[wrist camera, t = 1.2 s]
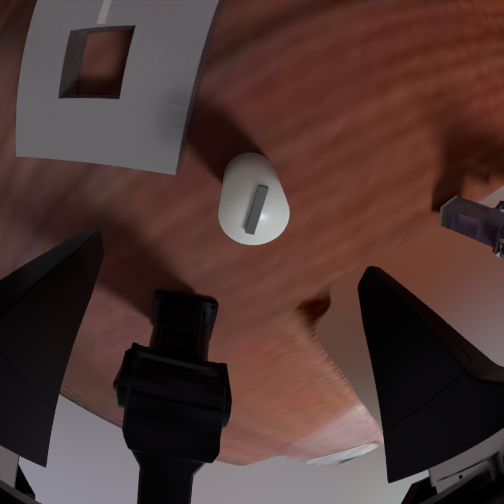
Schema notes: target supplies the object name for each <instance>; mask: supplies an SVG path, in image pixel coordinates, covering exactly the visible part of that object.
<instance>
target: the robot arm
mask: <svg viewBox="0 0 504 504" xmlns="http://www.w3.org/2000/svg"><path fill="white" fill-rule="evenodd" d="M103 256H104V250H103V243H102V236H101V233H100V231H99V230H92V229H88V230H86V231H84V232H82V233H80V234H78V235H76V236H75V237H73V238H71V239H69V240H67V241H65V242H63V243H61V244H60V245H58V246H56V247H54V248H52V249H51V250H49V251H47V252H45V253H44V254H42V255H40V256H38V257H37V258H35V259H33V260H32V261H30V262H28V263H27V264H25V265H23V266H22V267H20V268H19V269H17V270H15V271H14V272H12V273H11V274H9V276H6V277H4V278H3V279H1V280H0V504H41V503H39V502H37V501H35V494H34V492H33V490H32V489H31V487H30V485H29V483H28V481H27V480H26V478H25V476H24V474H23V472H22V470H21V468H20V466H19V464H18V462H19V457H20V456H21V457H23V458H25V459H27V460H30V461H32V462H34V463H36V464H38V465H41V466H43V467H46V464H47V457H48V449H49V443H50V436H51V431H52V425H53V420H54V415H55V409H56V405H57V401H58V396H59V392H60V388H61V385H62V381H63V377H64V374H65V370H66V367H67V363H68V360H69V357H70V354H71V350H72V347H73V344H74V341H75V338H76V336H77V333H78V330H79V327H80V324H81V322H82V319H83V316H84V314H85V311H86V308H87V306H88V303H89V301H90V298H91V295H92V292H93V289H94V285H95V282H96V279H97V276H98V273H99V269H100V266H101V263H102V260H103ZM158 295H159V296H158ZM358 295H359V301H360V307H361V314H362V321H363V327H364V332H365V336H366V340H367V345H368V349H369V354H370V359H371V363H372V368H373V373H374V379H375V384H376V390H377V395H378V401H379V408H380V414H381V421H382V428H383V431H384V432H383V437H384V445H385V455H386V467H387V479H388V483H392V482H395V481H398V480H401V479H404V478H406V477H409V476H412V475H414V474H417V473H420V472H422V471H425V470H427V469H428V473H429V476H428V477H426V478H424V479H422V480H420V481H417V482H415V483H413V484H412V485H411V487H410V488H409V490H408V492H407V494H406V496H405V498H404V499H403V501H402V503H401V504H504V367H502V366H499V365H497V364H495V363H494V362H493V361H491V360H490V359H489V358H488V357H487V356H486V355H484V354H483V353H482V352H481V351H479V350H478V349H477V348H476V347H475V346H474V345H472V344H471V343H470V342H469V341H468V340H466V339H465V338H464V337H463V336H462V335H461V334H459V333H458V332H457V331H456V330H455V329H454V328H453V327H451V326H450V325H449V324H447V322H446V321H444V320H443V319H442V318H441V317H440V316H439V315H438V314H436V313H435V312H434V311H433V310H432V309H430V308H429V307H428V306H427V305H426V304H425V303H423V302H422V301H421V300H420V299H418V298H417V297H416V296H415V295H414V294H412V293H411V292H410V291H409V290H408V289H406V288H405V287H404V286H403V285H401V284H400V283H399V282H397V281H396V280H395V279H394V278H392V277H391V276H390V275H389V274H387V273H386V272H385V271H383V270H382V269H381V268H379V267H375V266H369V267H367V269H366V270H365V272H364V274H363V276H362V278H361V280H360V282H359V284H358ZM212 305H214V306H212ZM218 306H219V304H218V302H216V301H212V300H206V299H201V298H195V297H190V296H184V295H179V294H174V293H168V292H163V291H155V293H154V296H153V331H152V335H151V339H150V344H149V347H145V346H142V345H139V344H138V343H134V342H133V344H132V347H131V349H129V350H127V351H125V355H124V359H123V362H122V365H121V368H120V370H119V372H118V374H117V376H116V378H115V380H114V383H113V388H114V390H115V391H116V393H117V399H118V407H120V408H123V409H125V410H124V418H123V427H122V431H123V436H124V439H125V442H126V444H127V447H128V448H129V449H130V450H131V451H132V452H133V455H134V456H135V458H136V460H137V462H138V464H139V466H140V471H139V483H138V499H137V504H190V503H191V494H192V483H193V476H194V475H195V474H196V472H197V471H198V470H199V469H200V468H201V467H202V466H203V465H204V464H205V463H213V461H214V460H215V459H216V457H217V456H218V454H219V452H220V437H221V431H222V428H224V427H226V425H227V423H228V421H229V418H230V413H231V404H232V397H231V390H230V383H229V376H228V370H227V364H226V363H216V362H210V361H208V348H209V341H210V338H211V334H212V330H213V327H214V323H215V319H216V315H217V311H218Z"/></svg>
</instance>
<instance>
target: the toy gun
mask: <svg viewBox="0 0 504 504" xmlns="http://www.w3.org/2000/svg"><path fill="white" fill-rule="evenodd" d="M501 209H504V201H500V202H499V204H498V205H497V206H496V207H495V208H490V207H487V206H484V205H481V204H479V203H476V202H473V201H470V200H467V199H463V198H460V197H458V195H456V196H454V197H453V198H452V199H450V200H449V201H448V202H446V203H445V204H444V205H442V206H441V210H440V221H439V226H443V227H445V228H448V229H451V230H453V231H455V232H458V233H460V234H463V235H465V236H468V237H470V238H473V239H475V240H477V241H479V242H482V243H484V244H486V245H489V246H491V247H493V253H494V254H495V255H496V256H498V257H502V258H503V259H504V213H503V212H501V211H500V210H501Z"/></svg>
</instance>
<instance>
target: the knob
mask: <svg viewBox="0 0 504 504" xmlns="http://www.w3.org/2000/svg"><path fill="white" fill-rule="evenodd" d="M288 220H289V206H288V203H287V200H286V197H285V195H284V192H283V189H282V187H281V184H280V181H279V179H278V176H277V173H276V171H275V168H274V166H273V164H272V163H271V162H270V160H269V159H267V158H266V157H265V156H263V155H261V154H258V153H251V152H249V153H243V154H240V155H238V156H236V157H234V158H233V159H232V160H231V161H230V162H229V163H228V165H227V166H226V168H225V172H224V178H223V185H222V191H221V198H220V206H219V222H220V225H221V227H222V229H223V230H224V232H225V233H226V234H227V235H228V236H229V237H230V238H232V239H233V240H235V241H237V242H239V243H242V244H247V245H260V244H264V243H267V242H270V241H272V240H273V239H275V238H276V237H278V236H279V235H280V234H281V233H282V232H283V230H284V229H285V227H286V225H287V223H288Z"/></svg>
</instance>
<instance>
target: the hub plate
mask: <svg viewBox="0 0 504 504" xmlns="http://www.w3.org/2000/svg"><path fill="white" fill-rule="evenodd" d="M224 1H225V0H37V3H36V6H35V9H34V13H33V16H32V19H31V23H30V27H29V30H28V35H27V39H26V43H25V48H24V53H23V58H22V64H21V71H20V78H19V86H18V96H17V111H16V156H19V157H35V158H48V159H60V160H70V161H80V162H89V163H97V164H105V165H113V166H120V167H127V168H134V169H141V170H147V171H153V172H159V173H165V174H171V175H176V174H177V172H178V170H179V169H180V167H181V166H182V164H183V159H184V154H185V148H186V143H187V138H188V133H189V128H190V123H191V119H192V114H193V110H194V105H195V101H196V97H197V93H198V88H199V84H200V80H201V77H202V73H203V69H204V65H205V62H206V58H207V55H208V51H209V48H210V44H211V41H212V38H213V34H214V31H215V28H216V25H217V22H218V19H219V16H220V13H221V10H222V7H223V4H224ZM112 31H134V34H133V38H132V42H131V46H130V50H129V54H128V58H127V62H126V67H125V72H124V77H123V82H122V88H121V93H120V95H97V94H76V93H77V86H78V79H79V73H80V68H81V62H82V57H83V52H84V48H85V44H86V39H87V35H88V33H97V32H112Z"/></svg>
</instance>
